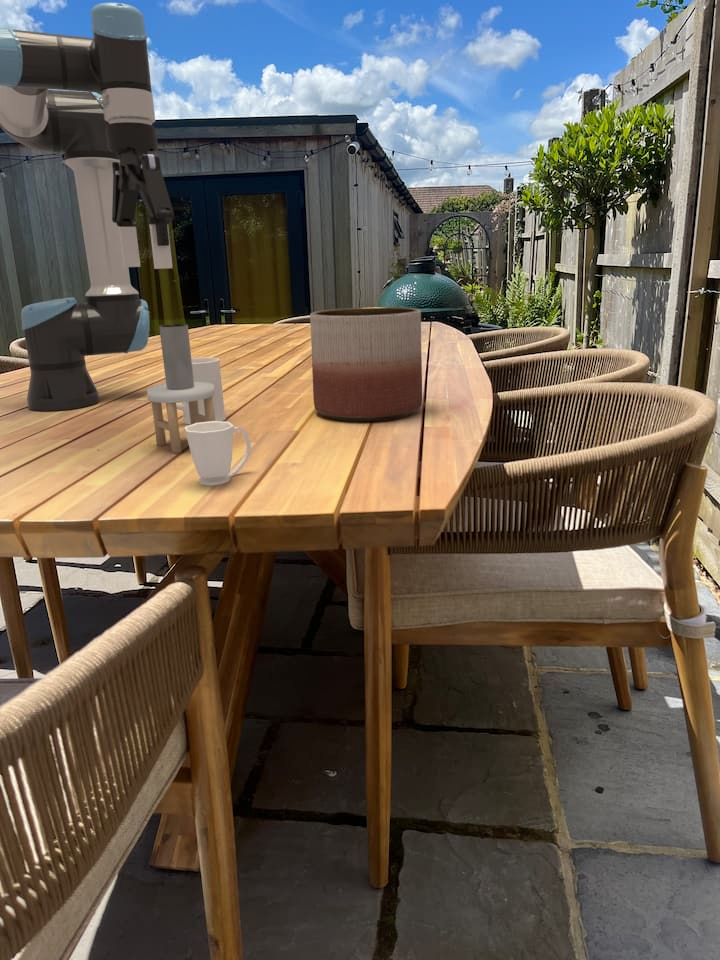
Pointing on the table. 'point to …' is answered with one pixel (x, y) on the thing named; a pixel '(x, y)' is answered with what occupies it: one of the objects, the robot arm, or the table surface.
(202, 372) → the white ceramic jug
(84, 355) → the robot arm
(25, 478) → the table surface
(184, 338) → the grey tube
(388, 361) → the planter
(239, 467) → the cup
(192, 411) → the stool
